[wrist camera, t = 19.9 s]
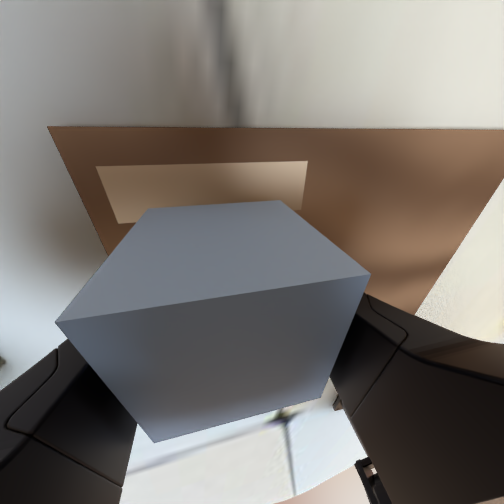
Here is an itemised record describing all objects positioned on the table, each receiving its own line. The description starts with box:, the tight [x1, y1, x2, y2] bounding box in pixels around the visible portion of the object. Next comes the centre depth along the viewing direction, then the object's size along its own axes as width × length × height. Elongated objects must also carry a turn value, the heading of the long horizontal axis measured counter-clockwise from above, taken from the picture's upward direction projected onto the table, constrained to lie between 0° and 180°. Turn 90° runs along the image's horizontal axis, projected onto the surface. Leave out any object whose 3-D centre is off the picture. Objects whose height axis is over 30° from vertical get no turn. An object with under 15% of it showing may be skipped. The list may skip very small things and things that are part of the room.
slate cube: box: [55, 200, 371, 443], centre depth 7 cm, size 6×6×6 cm
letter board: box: [47, 126, 504, 315], centre depth 13 cm, size 17×24×1 cm
